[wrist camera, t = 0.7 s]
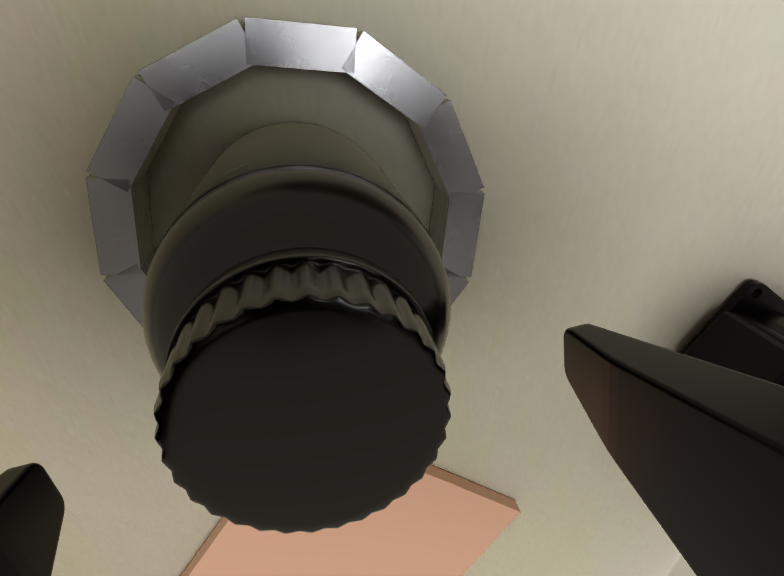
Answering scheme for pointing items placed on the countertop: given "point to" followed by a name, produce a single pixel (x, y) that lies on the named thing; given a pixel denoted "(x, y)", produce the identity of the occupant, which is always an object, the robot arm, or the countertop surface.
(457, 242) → the collar
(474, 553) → the tile
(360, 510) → the supplement bottle
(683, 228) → the countertop surface
